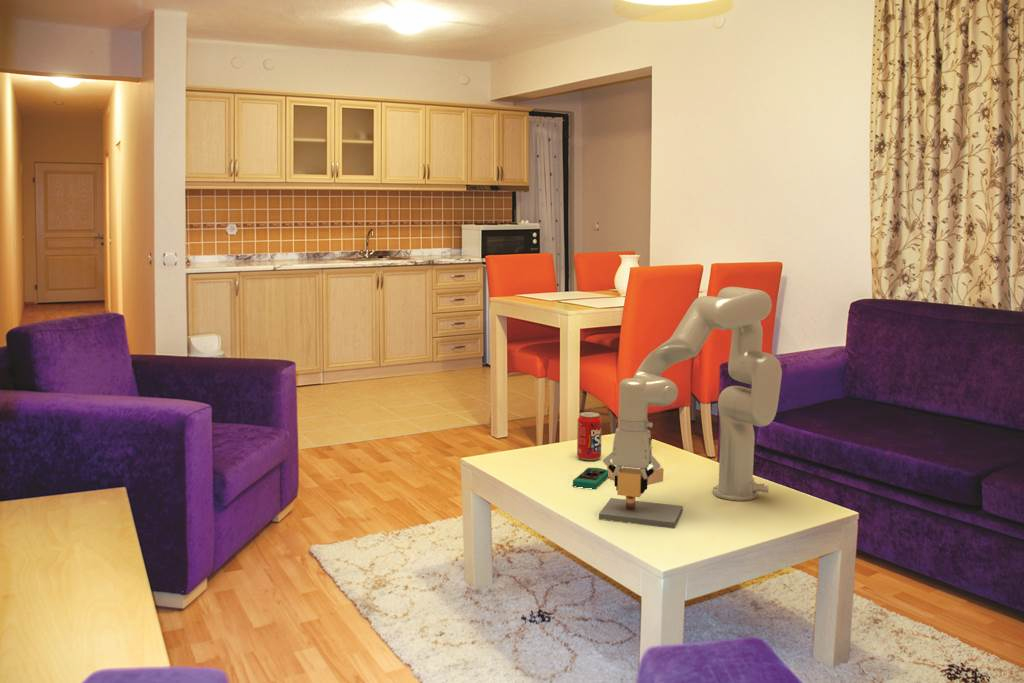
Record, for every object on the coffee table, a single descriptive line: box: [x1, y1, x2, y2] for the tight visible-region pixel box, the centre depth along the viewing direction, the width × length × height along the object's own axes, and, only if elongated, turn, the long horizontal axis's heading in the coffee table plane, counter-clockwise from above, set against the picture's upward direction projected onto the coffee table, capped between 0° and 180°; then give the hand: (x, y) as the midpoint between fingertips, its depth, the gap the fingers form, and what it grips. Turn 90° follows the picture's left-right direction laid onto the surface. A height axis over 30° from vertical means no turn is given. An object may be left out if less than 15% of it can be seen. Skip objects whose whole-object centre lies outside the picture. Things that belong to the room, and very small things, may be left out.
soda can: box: [576, 411, 603, 462], centre depth 297 cm, size 8×8×15 cm
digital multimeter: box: [572, 467, 609, 490], centre depth 273 cm, size 7×15×3 cm, turn 158°
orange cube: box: [616, 467, 643, 498], centre depth 243 cm, size 6×6×6 cm
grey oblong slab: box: [598, 497, 684, 529], centre depth 244 cm, size 20×14×2 cm
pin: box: [625, 496, 637, 510], centre depth 244 cm, size 3×3×4 cm
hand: (630, 489), depth 244 cm, fingers closed on orange cube, 5 cm apart
